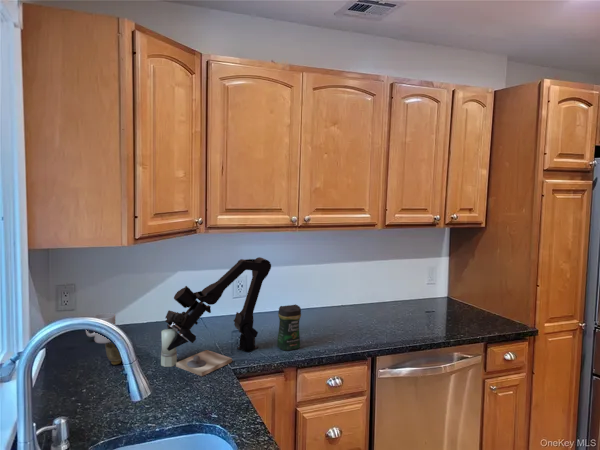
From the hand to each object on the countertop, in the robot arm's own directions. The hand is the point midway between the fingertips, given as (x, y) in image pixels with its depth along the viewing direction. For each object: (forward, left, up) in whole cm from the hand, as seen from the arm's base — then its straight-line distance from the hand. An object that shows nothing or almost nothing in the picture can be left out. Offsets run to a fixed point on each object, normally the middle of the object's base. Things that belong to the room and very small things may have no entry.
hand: (165, 347), depth 169 cm
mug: (+1, -42, -7) cm, 42 cm away
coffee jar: (-43, +27, -7) cm, 52 cm away
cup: (+11, -16, -7) cm, 20 cm away
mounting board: (-9, +11, -7) cm, 16 cm away
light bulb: (-1, 0, -7) cm, 7 cm away
